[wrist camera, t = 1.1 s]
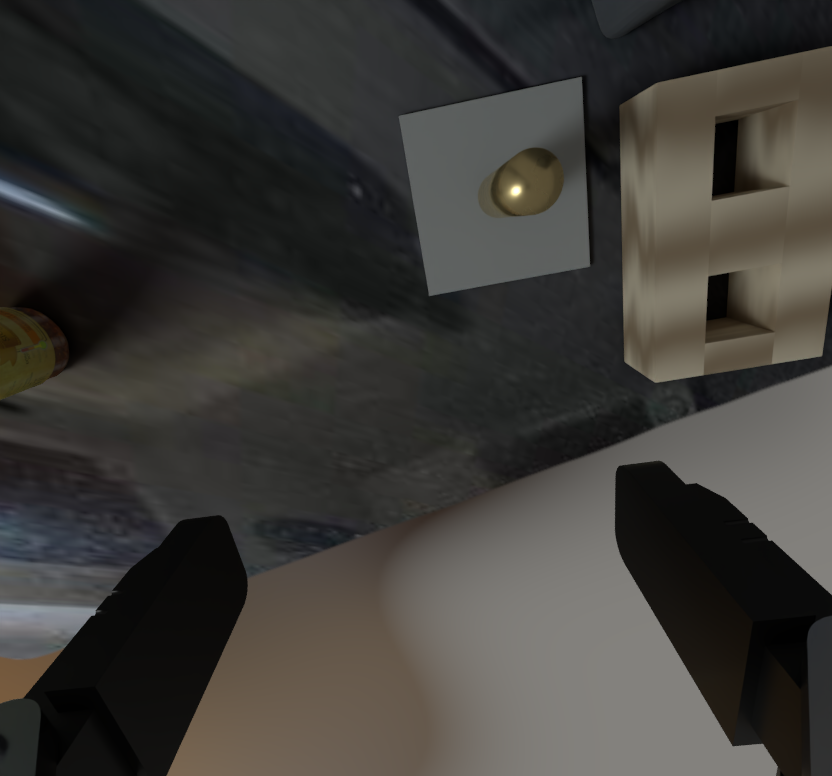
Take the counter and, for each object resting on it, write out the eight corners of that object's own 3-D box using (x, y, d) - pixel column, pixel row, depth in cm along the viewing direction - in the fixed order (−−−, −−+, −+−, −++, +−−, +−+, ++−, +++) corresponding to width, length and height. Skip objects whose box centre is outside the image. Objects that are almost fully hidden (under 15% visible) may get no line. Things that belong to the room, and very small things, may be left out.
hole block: (619, 105, 29) (657, 82, 24) (793, 69, 28) (866, 38, 24) (624, 361, 35) (655, 382, 31) (767, 338, 34) (821, 356, 30)
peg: (475, 176, 30) (498, 154, 21) (518, 167, 30) (561, 141, 21) (480, 221, 31) (505, 220, 22) (522, 213, 31) (565, 208, 22)
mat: (399, 117, 30) (398, 116, 29) (579, 78, 29) (581, 76, 28) (429, 294, 34) (429, 295, 33) (588, 266, 33) (590, 266, 32)
